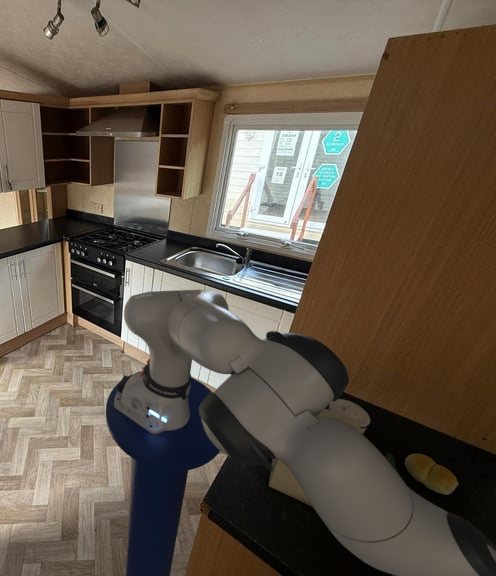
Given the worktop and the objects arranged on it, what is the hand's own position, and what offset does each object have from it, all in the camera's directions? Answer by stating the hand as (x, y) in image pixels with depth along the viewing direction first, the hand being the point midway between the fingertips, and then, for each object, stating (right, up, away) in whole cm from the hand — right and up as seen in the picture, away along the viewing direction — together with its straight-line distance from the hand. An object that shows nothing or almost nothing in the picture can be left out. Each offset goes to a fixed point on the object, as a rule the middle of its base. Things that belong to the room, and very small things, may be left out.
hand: (436, 526), depth 60 cm
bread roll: (+13, +1, +15) cm, 20 cm away
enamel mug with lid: (0, +6, +26) cm, 26 cm away
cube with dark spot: (-17, +1, +15) cm, 22 cm away
